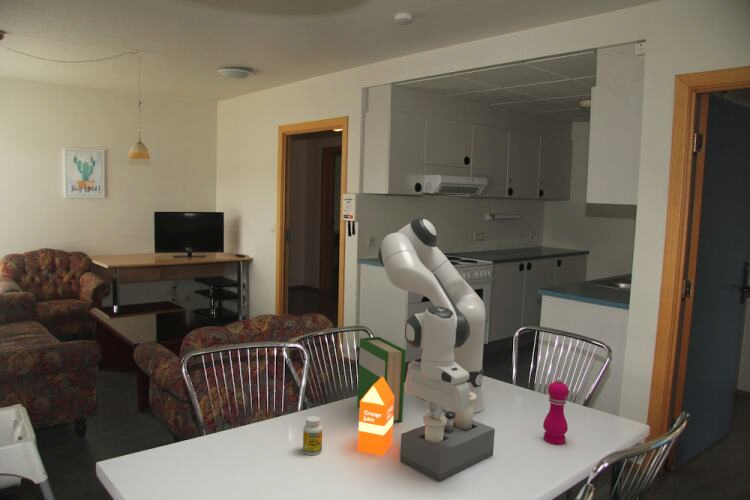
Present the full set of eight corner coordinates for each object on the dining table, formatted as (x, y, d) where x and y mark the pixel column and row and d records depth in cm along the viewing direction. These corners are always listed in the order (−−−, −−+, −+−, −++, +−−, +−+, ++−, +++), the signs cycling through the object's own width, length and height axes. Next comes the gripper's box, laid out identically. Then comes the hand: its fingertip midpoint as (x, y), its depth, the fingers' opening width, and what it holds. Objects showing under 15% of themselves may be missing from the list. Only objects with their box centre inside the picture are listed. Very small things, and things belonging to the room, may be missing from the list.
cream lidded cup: (447, 427, 163) (449, 392, 162) (461, 421, 167) (463, 388, 166) (465, 434, 158) (467, 399, 157) (478, 428, 163) (481, 394, 162)
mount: (399, 461, 156) (401, 434, 155) (454, 438, 172) (456, 413, 172) (439, 482, 146) (440, 452, 145) (493, 455, 162) (494, 428, 162)
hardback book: (402, 422, 183) (405, 350, 181) (382, 425, 180) (385, 352, 177) (376, 403, 199) (379, 336, 196) (357, 406, 195) (360, 338, 193)
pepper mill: (568, 446, 170) (573, 382, 168) (543, 443, 172) (548, 379, 170) (565, 436, 177) (570, 375, 175) (541, 434, 179) (545, 372, 177)
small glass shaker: (441, 430, 158) (442, 412, 158) (448, 428, 160) (449, 410, 160) (449, 434, 156) (450, 416, 156) (456, 431, 158) (457, 413, 158)
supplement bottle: (317, 445, 164) (318, 413, 163) (324, 453, 159) (325, 420, 158) (299, 449, 161) (300, 416, 160) (306, 457, 156) (307, 423, 155)
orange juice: (392, 443, 167) (395, 377, 165) (383, 455, 159) (386, 386, 157) (367, 438, 170) (370, 373, 168) (357, 450, 162) (360, 382, 160)
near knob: (416, 453, 154) (418, 416, 153) (431, 446, 159) (433, 411, 158) (434, 461, 150) (436, 424, 149) (449, 455, 154) (451, 418, 153)
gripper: (401, 360, 157) (398, 408, 159) (459, 380, 143) (456, 432, 144) (416, 356, 162) (414, 403, 163) (474, 375, 147) (471, 426, 148)
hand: (434, 417), depth 153 cm, fingers closed, pressing on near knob
